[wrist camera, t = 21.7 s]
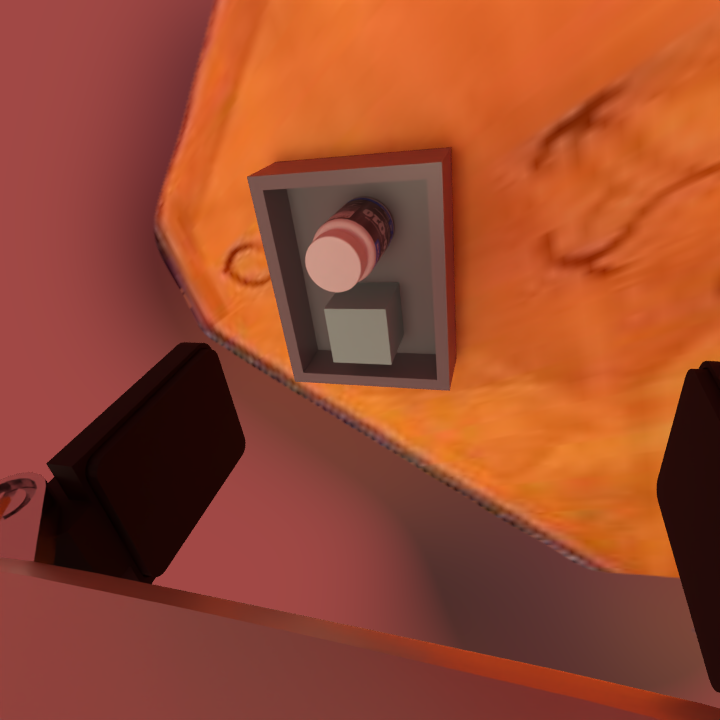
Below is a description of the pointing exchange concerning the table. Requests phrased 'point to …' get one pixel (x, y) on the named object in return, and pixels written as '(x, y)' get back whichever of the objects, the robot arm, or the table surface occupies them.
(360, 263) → the pill bottle
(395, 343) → the gray cube
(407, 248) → the tote
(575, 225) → the table surface
